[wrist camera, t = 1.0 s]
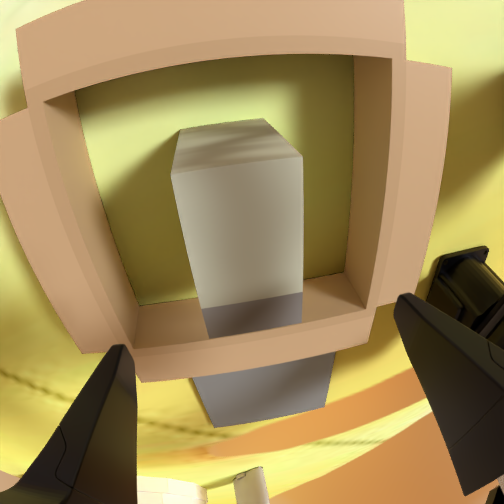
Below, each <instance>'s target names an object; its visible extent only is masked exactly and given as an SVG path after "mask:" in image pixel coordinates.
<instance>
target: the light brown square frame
mask: <svg viewBox="0 0 504 504" xmlns="http://www.w3.org/2000/svg"><path fill="white" fill-rule="evenodd" d="M16 37H17V46H18V54H19V61H20V68H21V74H22V80H23V86H24V91H25V97H26V102H27V106H28V108H26V109H23V110H21V111H19V112H16V113H14V114H12V115H10V116H7V117H5V118H3V119H1V120H0V195H1V198H2V200H3V203H4V206H5V208H6V211H7V213H8V216H9V218H10V221H11V223H12V226H13V228H14V230H15V233H16V235H17V237H18V239H19V242H20V244H21V246H22V248H23V250H24V252H25V255H26V257H27V259H28V261H29V263H30V265H31V267H32V269H33V271H34V273H35V275H36V277H37V279H38V281H39V283H40V284H41V286H42V288H43V290H44V292H45V294H46V295H47V297H48V299H49V301H50V303H51V304H52V306H53V308H54V310H55V311H56V313H57V315H58V316H59V318H60V320H61V321H62V323H63V325H64V326H65V328H66V329H67V331H68V333H69V334H70V336H71V337H72V339H73V340H74V342H75V344H76V345H77V347H78V348H79V350H80V351H81V353H82V354H86V353H99V352H107V351H108V350H109V349H110V347H111V346H112V345H114V344H125V345H126V347H127V348H128V350H129V352H130V354H131V355H132V357H133V359H134V362H135V373H136V375H137V376H138V378H139V379H140V381H141V383H144V382H155V381H166V380H175V379H184V378H192V377H200V376H208V375H215V374H222V373H228V372H235V371H241V370H247V369H253V368H258V367H264V366H269V365H275V364H280V363H285V362H290V361H295V360H299V359H304V358H308V357H313V356H317V355H322V354H326V353H330V352H334V351H338V350H342V349H346V348H350V347H354V346H358V345H362V344H365V343H367V342H368V339H369V335H370V331H371V327H372V324H373V320H374V316H375V312H376V308H377V307H378V306H382V305H386V304H390V303H394V302H396V301H397V298H398V296H399V295H400V294H404V293H408V292H409V293H412V294H414V293H415V290H416V287H417V284H418V280H419V277H420V273H421V270H422V266H423V262H424V259H425V255H426V251H427V247H428V243H429V239H430V235H431V230H432V226H433V221H434V217H435V212H436V207H437V202H438V197H439V191H440V185H441V180H442V173H443V167H444V160H445V153H446V145H447V136H448V126H449V115H450V102H451V82H452V68H450V67H445V66H439V65H434V64H428V63H422V62H416V61H409V60H406V32H405V14H404V1H403V0H84V1H81V2H78V3H76V4H73V5H70V6H67V7H65V8H62V9H60V10H57V11H55V12H52V13H50V14H48V15H45V16H43V17H41V18H38V19H36V20H34V21H32V22H30V23H28V24H25V25H23V26H21V27H19V28H17V29H16ZM273 54H344V55H353V58H354V147H353V172H352V190H351V205H350V218H349V230H348V240H347V251H346V260H345V269H344V272H343V273H338V274H333V275H327V276H322V277H317V278H311V279H306V280H303V298H302V323H298V324H293V325H288V326H283V327H277V328H272V329H267V330H261V331H255V332H249V333H244V334H238V335H231V336H225V337H219V338H212V339H209V336H208V332H207V329H206V325H205V321H204V318H203V314H202V310H201V306H200V302H199V298H192V299H185V300H179V301H172V302H165V303H158V304H151V305H144V306H139V304H138V302H137V299H136V297H135V294H134V292H133V289H132V287H131V284H130V282H129V279H128V277H127V274H126V271H125V269H124V266H123V263H122V261H121V258H120V255H119V252H118V249H117V247H116V244H115V241H114V238H113V235H112V232H111V229H110V226H109V223H108V220H107V217H106V214H105V211H104V207H103V204H102V201H101V198H100V194H99V191H98V187H97V184H96V180H95V177H94V173H93V170H92V166H91V162H90V158H89V154H88V151H87V147H86V142H85V138H84V134H83V130H82V125H81V121H80V116H79V111H78V107H77V102H76V97H75V91H74V90H78V89H81V88H84V87H87V86H90V85H94V84H97V83H101V82H104V81H108V80H111V79H115V78H119V77H123V76H127V75H131V74H135V73H140V72H144V71H149V70H154V69H159V68H164V67H169V66H174V65H180V64H186V63H193V62H199V61H206V60H214V59H223V58H232V57H243V56H256V55H273Z"/></svg>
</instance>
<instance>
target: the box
mask: <svg viewBox="0 0 504 504" xmlns="http://www.w3.org/2000/svg"><path fill="white" fill-rule="evenodd" d="M170 175H171V180H172V185H173V190H174V195H175V200H176V205H177V209H178V214H179V219H180V223H181V228H182V232H183V236H184V241H185V245H186V250H187V254H188V258H189V262H190V266H191V271H192V275H193V279H194V283H195V287H196V291H197V295H198V298H199V302H200V306H201V310H202V314H203V318H204V321H205V325H206V329H207V332H208V336H209V339H212V338H219V337H225V336H231V335H238V334H244V333H249V332H255V331H261V330H267V329H272V328H277V327H283V326H288V325H293V324H298V323H302V298H303V245H304V194H303V156H302V155H301V154H300V153H299V152H298V151H297V150H296V149H295V148H294V147H293V146H292V145H291V144H290V143H289V142H288V141H287V140H286V139H285V138H284V137H283V136H282V135H280V134H279V133H278V132H277V131H276V130H275V129H274V128H273V127H272V126H271V125H270V124H269V123H268V122H267V121H266V120H265V119H264V118H260V119H250V120H242V121H233V122H225V123H218V124H211V125H204V126H198V127H192V128H186V129H180V133H179V137H178V142H177V146H176V151H175V155H174V160H173V165H172V169H171V174H170Z"/></svg>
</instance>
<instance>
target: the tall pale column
mask: <svg viewBox="0 0 504 504" xmlns="http://www.w3.org/2000/svg"><path fill="white" fill-rule="evenodd" d="M233 483H234V489H235V495H236V501H237V504H270V502H269V496H268V492H267V487H266V482H265V477H264V472H263V467H256V468H253V469H251V470H249V471H247V472H245V473H241V474H238V475H237V476H236V478H235V479H234V480H233Z"/></svg>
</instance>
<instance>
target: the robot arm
mask: <svg viewBox="0 0 504 504" xmlns="http://www.w3.org/2000/svg"><path fill="white" fill-rule="evenodd" d="M488 252H489V248H487V247H486V246H481V247H477V248H473V249H469V250H465V251H461V252H457V253H452V254H448V255H444V256H443V257H441V259H440V261H439V264H438V267H437V270H436V274H435V277H434V280H433V283H432V286H431V289H430V292H429V295H428V298H427V301H426V302H425V301H424V300H422V299H420V298H419V297H417V296H415V295H414V294H412V293H409V292H408V293H404V294H400V295H399V296H398V298H397V301H396V305H395V308H394V319H395V322H396V325H397V327H398V330H399V333H400V335H401V338H402V341H403V344H404V347H405V350H406V352H407V355H408V357H409V359H410V361H411V364H412V366H413V368H414V370H415V372H416V374H417V377H418V379H419V381H420V383H421V385H422V388H423V390H424V392H425V394H426V397H427V399H428V401H429V404H430V406H431V408H432V411H433V413H434V416H435V418H436V420H437V423H438V425H439V428H440V430H441V433H442V435H443V438H444V441H445V443H446V446H447V448H448V451H449V454H450V456H451V459H452V462H453V465H454V468H455V470H456V473H457V476H458V479H459V482H460V485H461V488H462V491H463V494H464V496H467V495H469V494H471V493H473V492H474V491H476V490H478V489H480V488H481V487H484V486H485V485H487V484H489V483H490V482H492V481H494V480H495V479H497V480H498V482H499V485H498V486H496V487H495V488H494V489H492V490H491V491H490V492H489V495H488V498H487V501H486V504H504V282H503V281H502V280H501V279H500V278H499V277H498V276H497V275H496V274H495V272H494V271H493V270H492V269H491V268H490V267H489V266H488V265H487V264H486V263H485V260H486V258H487V255H488ZM59 425H60V426H58V427H57V428H56V430H55V432H54V433H53V435H52V436H51V438H50V439H49V441H48V442H47V444H46V445H45V447H44V448H43V450H42V451H41V452H40V454H39V455H38V456H37V458H36V459H35V460H34V462H33V463H32V464H31V466H30V467H29V468H28V470H27V471H26V472H25V474H24V475H23V476H22V478H21V479H20V480H19V481H18V482H17V483H16V484H15V485H14V486H13V487H11V488H9V489H8V490H5V491H3V492H0V504H138V499H137V392H136V376H135V362H134V359H133V357H132V355H131V354H130V352H129V350H128V348H127V347H126V345H125V344H114V345H112V346H111V347H110V349H109V350H108V351H107V353H106V354H105V356H104V357H103V359H102V360H101V362H100V363H99V365H98V366H97V367H96V369H95V370H94V372H93V373H92V375H91V376H90V378H89V379H88V381H87V382H86V384H85V385H84V387H83V388H82V390H81V391H80V393H79V394H78V396H77V397H76V399H75V400H74V402H73V403H72V405H71V407H70V408H69V410H68V411H67V413H66V414H65V416H64V417H63V419H62V421H61V422H60V424H59Z"/></svg>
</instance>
